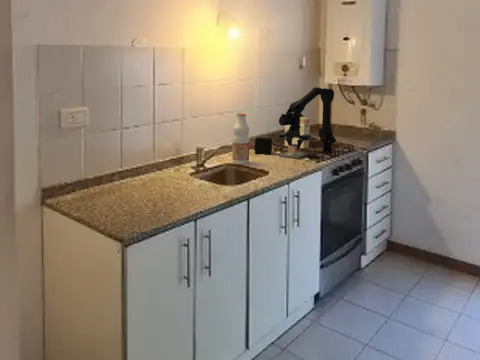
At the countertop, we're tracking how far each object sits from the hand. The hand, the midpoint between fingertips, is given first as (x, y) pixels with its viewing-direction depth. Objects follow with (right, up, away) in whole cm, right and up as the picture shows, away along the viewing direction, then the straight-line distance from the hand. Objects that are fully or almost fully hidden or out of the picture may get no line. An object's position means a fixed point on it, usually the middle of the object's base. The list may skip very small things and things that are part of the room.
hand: (294, 150), depth 322 cm
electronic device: (-19, -2, +5) cm, 19 cm away
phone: (0, -1, 0) cm, 1 cm away
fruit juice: (-32, -9, -21) cm, 40 cm away
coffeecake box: (+5, +4, +31) cm, 32 cm away
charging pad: (0, -3, +1) cm, 4 cm away
